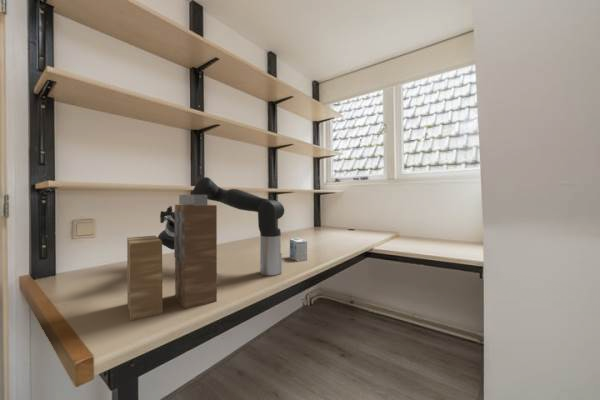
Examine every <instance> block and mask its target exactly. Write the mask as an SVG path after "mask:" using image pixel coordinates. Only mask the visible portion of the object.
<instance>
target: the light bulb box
mask: <svg viewBox="0 0 600 400" xmlns="http://www.w3.org/2000/svg"><path fill="white" fill-rule="evenodd" d="M289 258H290V259H292V258H293V259H292V260H294V259H295V260H304V261H308V240H306V239H303V238H300V237H299V238H297V237H296V238H290V239H289ZM295 260H294V261H295Z"/></svg>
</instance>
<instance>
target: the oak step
mask: <svg viewBox="0 0 600 400" xmlns="http://www.w3.org/2000/svg"><path fill="white" fill-rule="evenodd" d="M126 239H127V240H126V242H127V243H126V244H127V245H126V247H127V249H126V250H127V254H126V255H127V256H126V257H127V260H126V262H127V273H126V274H127V280H126V281H127V286H126V287H127V288H126V289H127V291H126V292H127V308H128V314H129V319H130V321H134V320H138V319H143V318H146V317H150V316H155V315H158V314H163V245H162V241H161V240H160V239H159V238H158V236H156V235H149V236H148V235H146V236H145V235H144V236H133V237H131V236H130V237H126Z"/></svg>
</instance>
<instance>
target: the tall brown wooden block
mask: <svg viewBox="0 0 600 400" xmlns="http://www.w3.org/2000/svg"><path fill="white" fill-rule="evenodd" d="M217 211H218V209H217V204H207V205H206V206H193V205H183V204H174V211H173V212H174V250H173V251H174V267H175V268H174V270H175V271H174V278H175V279H174V286H175V287H174V289H175V291H174V295H175V297H176V298H177V300H178V302H179V303H180V305H181V306H182V307H183V308H184V309H185V310H186V309H190V308H193V307H194V308H195V307H198V306H199V307H200V306H202V305H206V304H210V303H214V302H217V301H218V300H217V297H218V296H217V295H218V293H217V292H218V291H217V290H218V289H217V288H218V287H217V286H218V285H217V283H218V282H217V281H218V279H217V278H218V277H217V276H218V274H217V272H218V271H217V268H218V267H217V264H218V263H217V261H218V257H217V256H218V254H217V253H218V252H217V251H218V250H217V249H218V248H217V247H218V246H217V245H218V242H217V241H218V240H217V239H218V236H217V235H218V234H217V233H218V232H217V229H218V228H217V227H218V225H217V224H218V223H217V221H218V220H217V217H218V215H217V214H218V213H217Z"/></svg>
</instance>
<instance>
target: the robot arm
mask: <svg viewBox="0 0 600 400" xmlns="http://www.w3.org/2000/svg"><path fill="white" fill-rule="evenodd" d="M190 195H207V201H208V200H209V201H215V202H219V203H222V204H224V205H227V206H229V207H232V208H234V209H237V210H240V211H241V210H242V211H246V212H247V211H248V212H254V213H255V212H256V213H257V220H258V223H257V224H258V229H259V232H260V239H259V241H260V245H259V250H260V253H259V255H260V256H259V257H260V260H259V261H260V267H259V269H260V274H261V275H263V276H277V275H281V274H282V273H283V272H282V271H283V270H282V266H283V265H282V263H283V260H282V259H283V257H282V251H281V250H282V249H281V247H282V245H281V243H282V242H281V240H282V239H281V229H280V228H279V227H278V226H277V222H276V221H277V220H279V219H281V218H282V217H283V216H284V215H285V207H284V205H283V204H282V203H281V202H280V201H278V200H274V199H267V198H263V197H261V196H257V195H255V194H254V193H253V194H252V193H249V192H247V191H243V190H241V189H237V188H229V189H225V188H222V187H219V186H218V185H217V184H216V183H215V182H214V180H212V179H211V178H210V177H209V176H208V177H207V176H205V177H202V178H200V179H199V180H198V181H197V182H196V184H195V185H194V188H193V189H192V191H191V193H190ZM159 222H160V223H161V224H163V223H165V222H166V224H165V229H164V230H162V231H161V232H160V233H159V234H158V236H157V237H158V238H159V239H160V240H161V241H162V246H164V247H166V248H168V249H170V250H171V251H172V250H173V251H174V211H173V206H172V205H171V206H170V205H169V207H167V208H166V211H164V210H161V211H160V215H159Z"/></svg>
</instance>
